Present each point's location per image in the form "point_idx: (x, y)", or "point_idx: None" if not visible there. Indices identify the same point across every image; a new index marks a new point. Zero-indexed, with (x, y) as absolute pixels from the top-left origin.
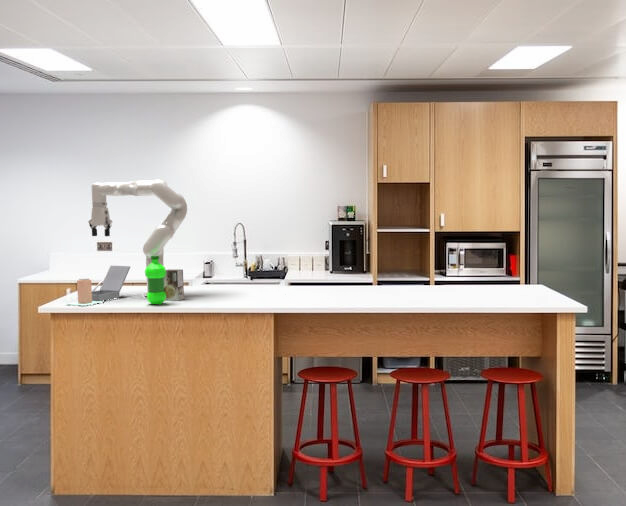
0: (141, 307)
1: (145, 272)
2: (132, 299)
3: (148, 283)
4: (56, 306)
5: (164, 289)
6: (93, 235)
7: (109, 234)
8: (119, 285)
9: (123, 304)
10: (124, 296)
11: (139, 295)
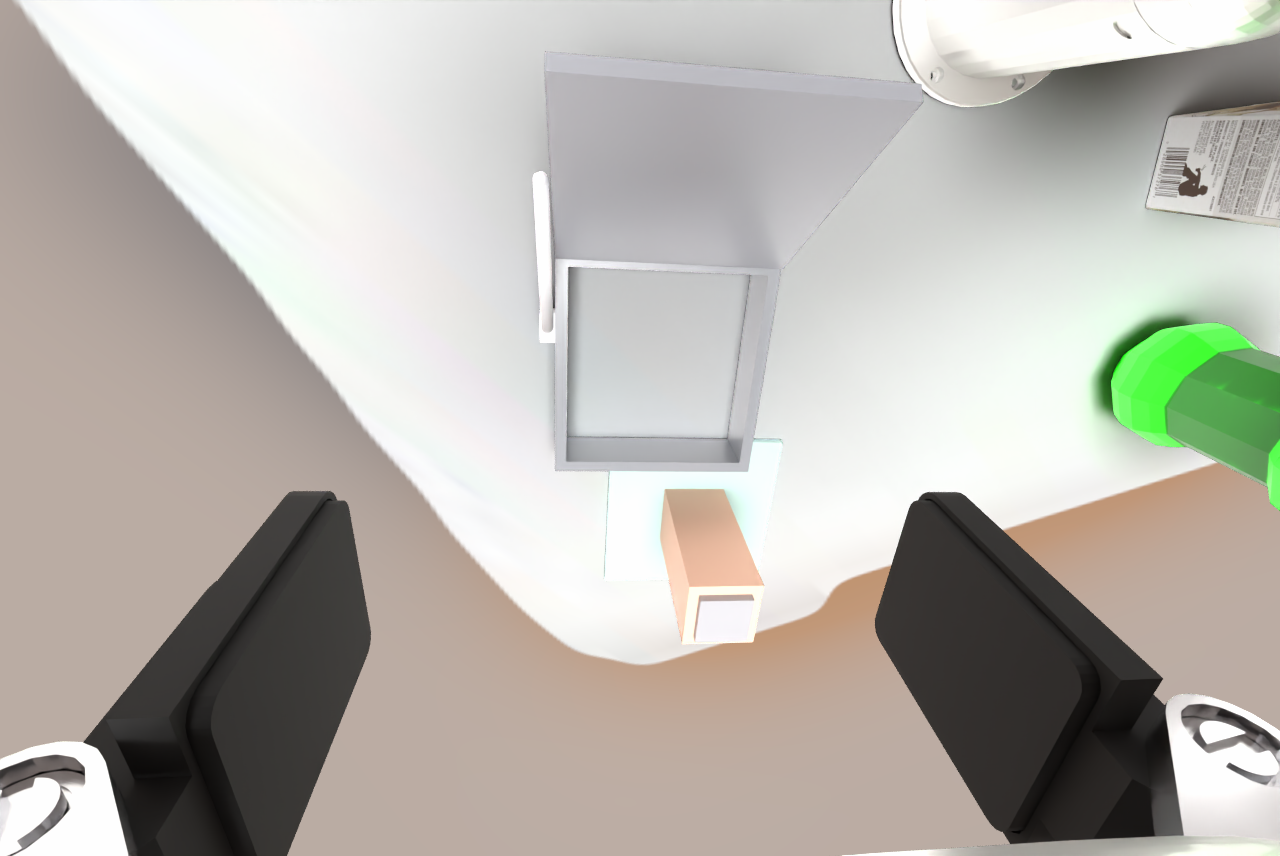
0: (1092, 490)
1: None
2: (887, 254)
3: (1230, 466)
4: (596, 619)
5: (1229, 219)
6: (366, 644)
7: (981, 526)
8: (781, 244)
9: (939, 448)
10: None
11: (822, 17)
